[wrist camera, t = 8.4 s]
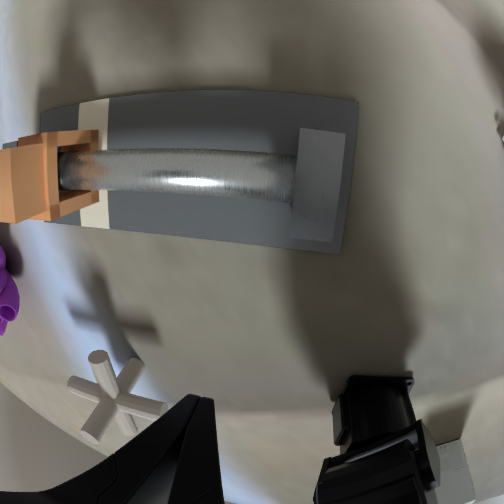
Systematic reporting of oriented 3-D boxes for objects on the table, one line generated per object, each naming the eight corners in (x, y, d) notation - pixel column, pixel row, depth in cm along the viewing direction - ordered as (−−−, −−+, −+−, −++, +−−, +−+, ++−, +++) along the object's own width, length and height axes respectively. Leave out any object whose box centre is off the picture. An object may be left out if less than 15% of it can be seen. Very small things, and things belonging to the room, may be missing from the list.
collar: (98, 129, 17) (13, 135, 10) (99, 201, 19) (20, 235, 12) (69, 133, 18) (-13, 142, 10) (70, 200, 20) (-6, 230, 12)
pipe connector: (85, 315, 25) (22, 377, 16) (175, 332, 24) (122, 419, 15) (110, 386, 29) (68, 447, 20) (189, 406, 28) (158, 483, 18)
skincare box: (418, 449, 27) (431, 515, 17) (460, 437, 25) (479, 498, 16) (402, 481, 30) (409, 535, 20) (440, 471, 29) (450, 523, 19)
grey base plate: (357, 102, 16) (358, 101, 16) (339, 252, 20) (339, 255, 19) (43, 112, 19) (40, 112, 18) (46, 220, 22) (43, 222, 22)
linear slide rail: (331, 136, 17) (345, 133, 12) (322, 215, 18) (332, 242, 14) (50, 138, 19) (2, 144, 14) (51, 195, 21) (6, 211, 16)
